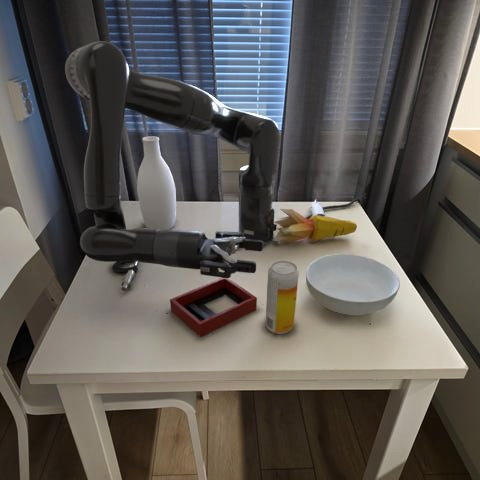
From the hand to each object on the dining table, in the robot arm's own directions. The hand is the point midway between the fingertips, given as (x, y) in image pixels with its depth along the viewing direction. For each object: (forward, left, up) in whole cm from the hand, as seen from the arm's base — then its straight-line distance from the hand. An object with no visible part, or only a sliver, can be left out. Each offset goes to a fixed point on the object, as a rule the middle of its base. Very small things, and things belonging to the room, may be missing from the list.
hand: (259, 256), depth 88 cm
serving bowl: (-23, -1, -17) cm, 29 cm away
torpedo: (-37, -44, -17) cm, 60 cm away
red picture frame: (+8, -7, -17) cm, 20 cm away
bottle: (+11, -55, -17) cm, 59 cm away
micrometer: (+25, -29, -17) cm, 42 cm away
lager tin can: (-4, +3, -17) cm, 18 cm away
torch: (-29, -31, -17) cm, 46 cm away
